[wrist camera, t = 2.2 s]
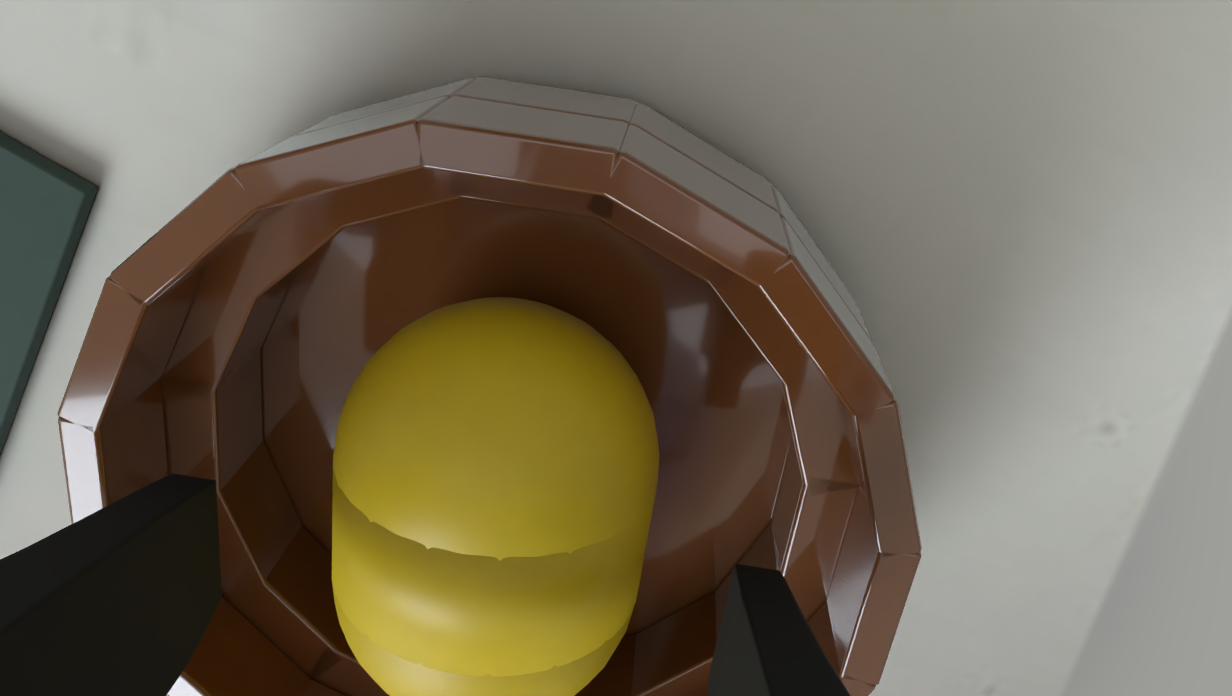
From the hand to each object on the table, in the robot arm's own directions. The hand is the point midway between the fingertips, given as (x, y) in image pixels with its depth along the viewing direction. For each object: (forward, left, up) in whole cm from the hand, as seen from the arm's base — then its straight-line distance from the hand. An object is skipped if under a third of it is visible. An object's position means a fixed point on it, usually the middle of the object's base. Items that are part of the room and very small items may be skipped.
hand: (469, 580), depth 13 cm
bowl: (0, 0, -5) cm, 5 cm away
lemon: (0, 0, -4) cm, 4 cm away
